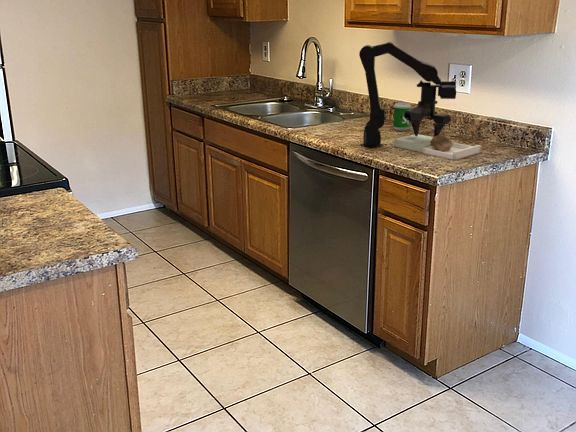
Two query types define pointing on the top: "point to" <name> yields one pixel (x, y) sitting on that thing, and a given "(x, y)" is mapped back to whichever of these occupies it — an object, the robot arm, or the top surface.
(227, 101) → the top surface
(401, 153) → the top surface
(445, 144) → the walnut tile
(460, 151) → the tray
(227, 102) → the top surface
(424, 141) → the platform
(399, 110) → the soda can
